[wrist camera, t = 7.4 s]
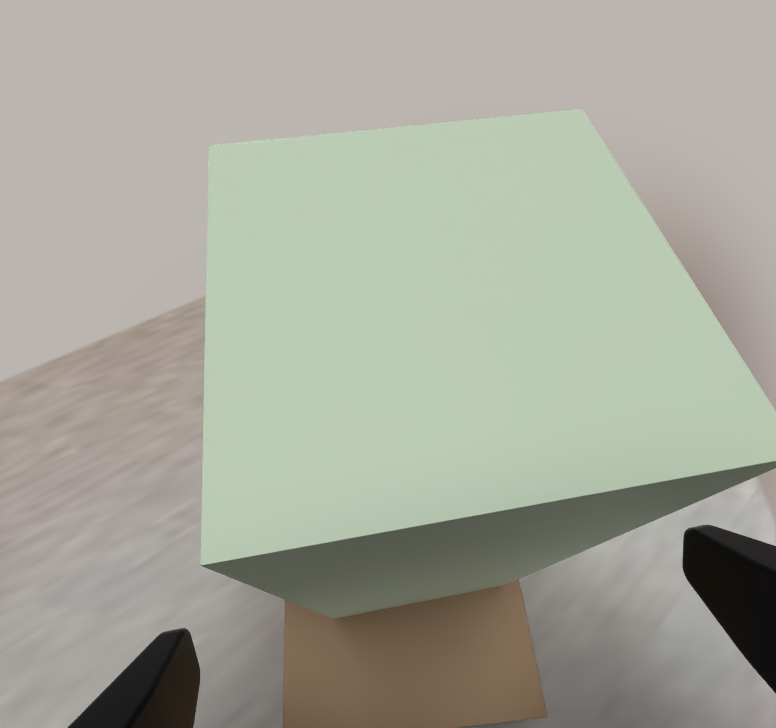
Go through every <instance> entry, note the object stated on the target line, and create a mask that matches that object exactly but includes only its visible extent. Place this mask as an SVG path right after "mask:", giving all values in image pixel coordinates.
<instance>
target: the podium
mask: <svg viewBox="0 0 776 728" xmlns="http://www.w3.org/2000/svg"><path fill="white" fill-rule="evenodd" d="M545 717H547V712H546V708H545V703H544V698H543V693H542V688H541V684H540V679H539V674H538V669H537V664H536V660H535V655H534V650H533V645H532V641H531V636H530V631H529V626H528V621H527V617H526V612H525V607H524V602H523V597H522V593H521V588H520V583H519V579H518V580H515V581H513V582H511V583H508V584H506V585H503V586H498V587H493V588H488V589H483V590H478V591H473V592H468V593H463V594H458V595H452V596H447V597H442V598H437V599H432V600H427V601H422V602H417V603H412V604H407V605H402V606H397V607H392V608H387V609H382V610H377V611H372V612H367V613H362V614H356V615H351V616H346V617H341V618H336V619H333V618H330V617H328V616H325V615H323V614H320V613H318V612H315V611H313V610H310V609H308V608H305V607H303V606H300V605H298V604H295V603H293V602H290V601H288V600H285V651H284V710H283V728H459V727H467V726H476V725H485V724H493V723H502V722H511V721H519V720H528V719H537V718H545Z"/></svg>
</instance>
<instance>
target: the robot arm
mask: <svg viewBox="0 0 776 728" xmlns="http://www.w3.org/2000/svg"><path fill="white" fill-rule="evenodd" d="M683 571H684V574H685V576H686V578H687V580H688V581H689V583H690V584H691V586H692V587H693V588H694V590H695V591H696V592H697V594H698V595H699V596H700V598H701V599H702V600H703V602H704V603H705V605H706V606H707V607H708V609H709V610H710V611H711V613H712V614H713V615H714V617H715V618H716V619H717V621H718V622H719V623H720V625H721V626H722V627H723V629H724V630H725V632H726V633H727V634H728V636H729V637H730V638H731V640H732V641H733V642H734V644H735V645H736V646H737V648H738V649H739V650H740V651H741V653H742V654H743V655H744V657H745V658H746V659H747V660H748V662H749V663H750V664H751V665H752V666H753V668H754V669H755V670H756V671H757V672H758V674H759V675H760V676H761V677H762V678H763V679H764V680H765V682H766V683H767V684H768V685H769V686H770V687H771V688H772V690H773V691H774V692H775V693H776V546H774V545H770V544H767V543H764V542H761V541H758V540H755V539H752V538H749V537H746V536H743V535H740V534H737V533H733V532H730V531H727V530H724V529H721V528H718V527H715V526H712V525H702V526H697V527H692V528H688V529H687V530H686V531H685V533H684V541H683ZM199 685H200V667H199V663H198V659H197V656H196V652H195V648H194V645H193V641H192V638H191V634H190V632H189V631H188V630H187V629H185V628H181V629H176V630H171V631H166V632H163V633H161V634H160V635H158V636H157V637H156V638H155V639H154V640H153V641H152V642H151V643H150V644H149V645H148V646H147V647H146V648H145V649H144V651H143V652H142V653H141V654H140V655H139V656H138V657H137V658H136V659H135V660H134V661H133V662H132V663H131V664H130V665H129V666H128V667H127V668H126V669H125V670H124V671H123V672H122V673H121V674H120V675H119V676H118V677H117V678H116V679H115V680H114V681H113V682H112V683H111V684H110V685H109V686H108V687H107V688H106V689H105V690H104V691H103V692H102V693H101V694H100V695H99V696H98V697H97V698H96V699H95V700H94V701H93V702H92V703H91V704H90V705H89V706H88V707H87V708H86V709H85V710H84V711H83V713H82V714H81V715H80V716H79V717H78V718H77V719H76V720H75V721H74V722H73V723H72V724H71V725H70V726H69V727H68V728H193V726H194V719H195V712H196V705H197V698H198V692H199Z"/></svg>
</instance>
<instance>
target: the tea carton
mask: <svg viewBox="0 0 776 728" xmlns="http://www.w3.org/2000/svg"><path fill="white" fill-rule="evenodd" d="M206 270H207V271H206V317H205V368H204V418H203V469H202V519H201V566H203V567H206V568H208V569H211V570H213V571H216V572H218V573H221V574H223V575H226V576H228V577H231V578H233V579H236V580H238V581H241V582H243V583H246V584H248V585H251V586H253V587H256V588H258V589H261V590H263V591H266V592H268V593H271V594H273V595H276V596H278V597H280V598H283V599H285V600H288V601H290V602H293V603H295V604H298V605H300V606H303V607H305V608H308V609H310V610H313V611H315V612H318V613H320V614H323V615H325V616H328V617H330V618H333V619H336V618H341V617H346V616H351V615H356V614H362V613H367V612H372V611H377V610H382V609H387V608H392V607H397V606H402V605H407V604H412V603H417V602H422V601H427V600H432V599H437V598H442V597H447V596H452V595H458V594H463V593H468V592H473V591H478V590H483V589H488V588H493V587H498V586H503V585H506V584H508V583H511V582H513V581H515V580H518V579H520V578H522V577H524V576H527V575H529V574H531V573H534V572H536V571H538V570H541V569H543V568H545V567H548V566H550V565H552V564H555V563H557V562H559V561H561V560H564V559H566V558H568V557H571V556H573V555H575V554H578V553H580V552H582V551H585V550H587V549H589V548H592V547H594V546H596V545H599V544H601V543H603V542H605V541H608V540H610V539H612V538H615V537H617V536H619V535H622V534H624V533H626V532H629V531H631V530H633V529H636V528H638V527H640V526H642V525H645V524H647V523H649V522H652V521H654V520H656V519H659V518H661V517H663V516H666V515H668V514H670V513H673V512H675V511H677V510H680V509H682V508H684V507H686V506H689V505H691V504H693V503H696V502H698V501H700V500H703V499H705V498H707V497H710V496H712V495H714V494H717V493H719V492H721V491H723V490H726V489H728V488H730V487H733V486H735V485H737V484H740V483H742V482H744V481H747V480H749V479H751V478H754V477H756V476H758V475H761V474H763V473H765V472H767V471H770V470H772V469H774V468H776V411H775V409H774V408H773V406H772V405H771V403H770V402H769V400H768V398H767V397H766V395H765V394H764V392H763V391H762V389H761V387H760V386H759V385H758V383H757V381H756V380H755V378H754V377H753V375H752V373H751V372H750V370H749V369H748V367H747V366H746V364H745V362H744V361H743V359H742V358H741V356H740V355H739V353H738V352H737V350H736V349H735V347H734V345H733V344H732V342H731V341H730V339H729V337H728V336H727V335H726V333H725V331H724V330H723V328H722V327H721V325H720V324H719V322H718V320H717V319H716V317H715V316H714V314H713V313H712V311H711V309H710V308H709V306H708V305H707V303H706V302H705V300H704V299H703V297H702V295H701V294H700V292H699V291H698V289H697V288H696V286H695V284H694V283H693V281H692V280H691V278H690V277H689V275H688V273H687V272H686V270H685V269H684V267H683V266H682V264H681V262H680V261H679V259H678V258H677V256H676V255H675V253H674V251H673V250H672V249H671V247H670V245H669V244H668V242H667V241H666V239H665V237H664V236H663V234H662V233H661V231H660V230H659V228H658V227H657V225H656V223H655V222H654V220H653V219H652V217H651V216H650V214H649V212H648V211H647V209H646V208H645V206H644V205H643V203H642V202H641V200H640V198H639V197H638V195H637V194H636V192H635V191H634V189H633V187H632V186H631V184H630V183H629V181H628V180H627V178H626V176H625V175H624V173H623V172H622V170H621V169H620V167H619V166H618V164H617V163H616V161H615V159H614V158H613V156H612V155H611V153H610V152H609V150H608V149H607V147H606V145H605V144H604V142H603V141H602V139H601V138H600V136H599V134H598V133H597V131H596V130H595V128H594V127H593V125H592V123H591V122H590V120H589V119H588V117H587V116H586V114H585V113H584V111H583V109H577V110H566V111H556V112H546V113H536V114H526V115H516V116H506V117H495V118H485V119H475V120H465V121H455V122H445V123H434V124H425V125H414V126H404V127H395V128H394V127H393V128H383V129H373V130H364V131H352V132H342V133H333V134H322V135H312V136H302V137H291V138H281V139H271V140H261V141H250V142H240V143H231V144H220V145H211V146H209V169H208V217H207V269H206Z"/></svg>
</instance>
